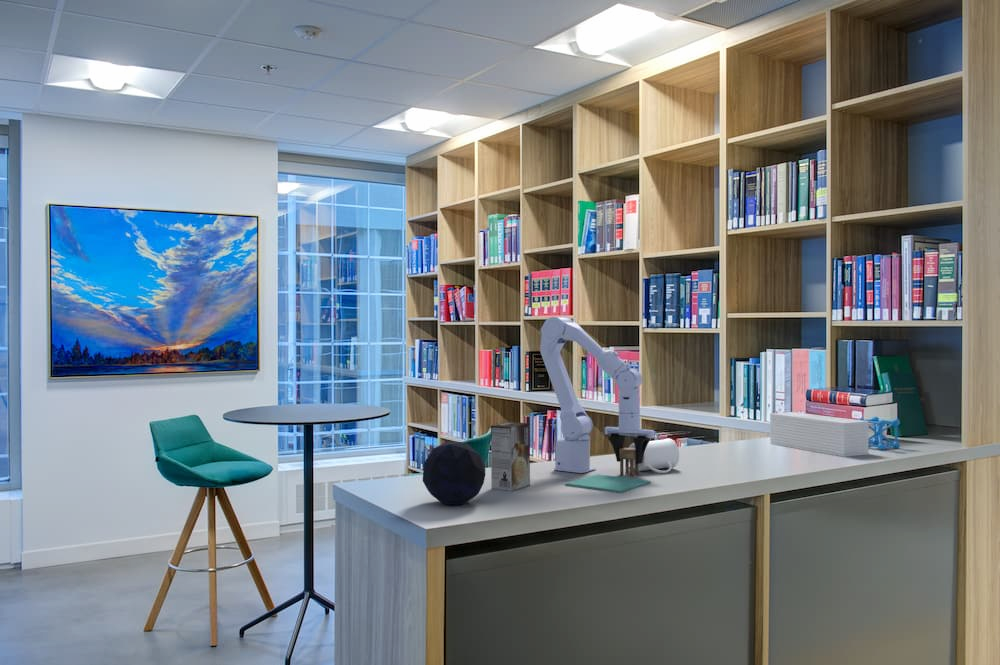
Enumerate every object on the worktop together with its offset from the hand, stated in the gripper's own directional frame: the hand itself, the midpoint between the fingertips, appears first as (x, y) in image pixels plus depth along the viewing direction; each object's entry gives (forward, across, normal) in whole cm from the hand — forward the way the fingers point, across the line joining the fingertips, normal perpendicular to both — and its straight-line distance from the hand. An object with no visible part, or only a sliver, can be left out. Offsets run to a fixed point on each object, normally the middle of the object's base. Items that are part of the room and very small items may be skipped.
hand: (629, 462), depth 217 cm
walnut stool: (+3, 0, 0) cm, 3 cm away
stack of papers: (+4, -27, -80) cm, 85 cm away
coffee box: (+4, +16, +33) cm, 37 cm away
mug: (0, -5, -16) cm, 17 cm away
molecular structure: (+4, -43, -94) cm, 103 cm away
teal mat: (+3, -2, +15) cm, 16 cm away
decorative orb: (+4, +15, +56) cm, 58 cm away
